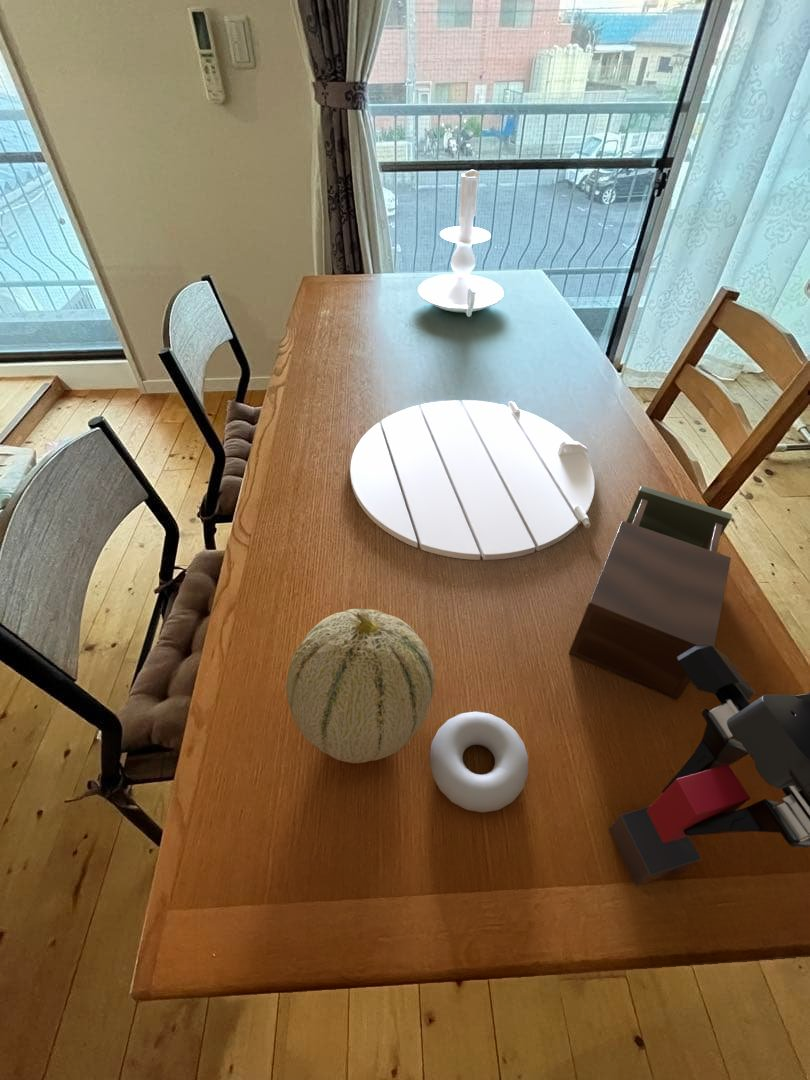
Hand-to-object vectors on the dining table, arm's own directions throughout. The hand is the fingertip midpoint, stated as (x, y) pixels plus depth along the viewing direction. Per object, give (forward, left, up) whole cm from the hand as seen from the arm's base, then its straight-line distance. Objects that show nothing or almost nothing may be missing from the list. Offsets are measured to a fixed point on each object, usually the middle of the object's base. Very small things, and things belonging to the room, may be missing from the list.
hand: (674, 813), depth 44 cm
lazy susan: (+36, -44, -11) cm, 58 cm away
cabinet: (+5, -25, -11) cm, 28 cm away
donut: (+16, 0, -11) cm, 20 cm away
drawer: (+5, -37, -10) cm, 39 cm away
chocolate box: (-1, -1, -3) cm, 3 cm away
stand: (-1, -1, -11) cm, 11 cm away
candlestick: (+64, -100, -11) cm, 120 cm away
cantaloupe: (+29, +1, -11) cm, 31 cm away
